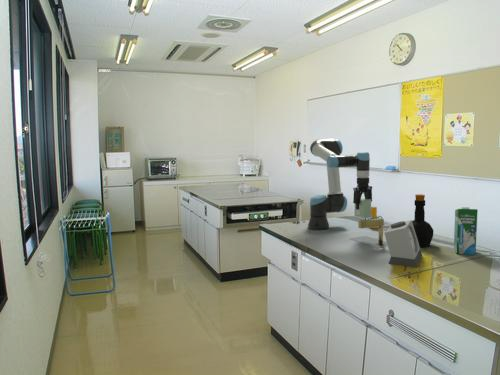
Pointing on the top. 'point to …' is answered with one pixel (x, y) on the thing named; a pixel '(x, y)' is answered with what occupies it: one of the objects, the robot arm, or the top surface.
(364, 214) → the pale green block
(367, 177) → the robot arm
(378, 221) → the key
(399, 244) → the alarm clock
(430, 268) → the top surface
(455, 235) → the milk carton
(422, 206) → the bottle
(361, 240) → the plate
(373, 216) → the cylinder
